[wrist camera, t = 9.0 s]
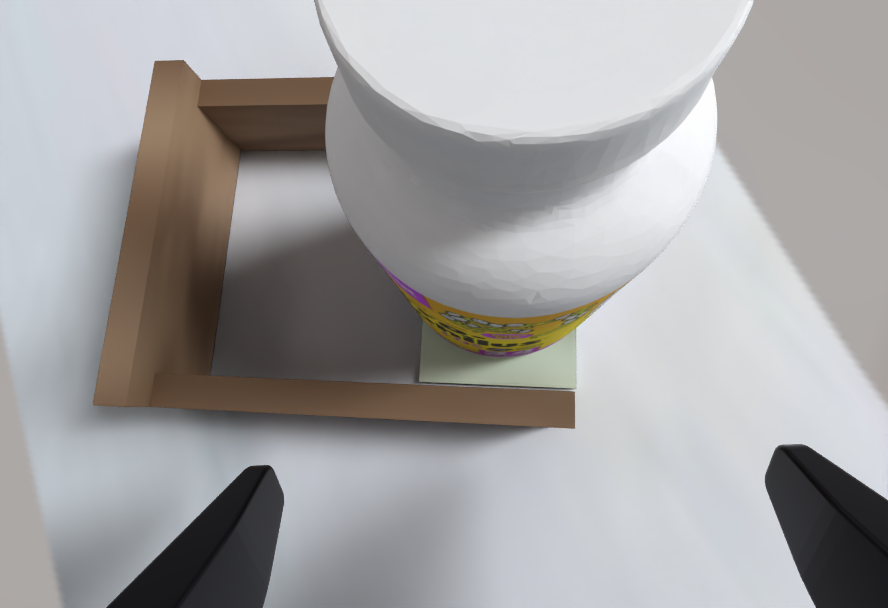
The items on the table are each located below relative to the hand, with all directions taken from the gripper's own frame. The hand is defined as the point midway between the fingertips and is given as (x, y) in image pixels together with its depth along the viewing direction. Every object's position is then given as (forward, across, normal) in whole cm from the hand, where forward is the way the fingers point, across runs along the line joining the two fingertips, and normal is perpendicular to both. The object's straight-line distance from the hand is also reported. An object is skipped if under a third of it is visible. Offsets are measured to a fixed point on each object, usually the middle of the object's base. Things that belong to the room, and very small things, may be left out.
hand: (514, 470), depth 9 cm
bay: (+10, +4, +1) cm, 11 cm away
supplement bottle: (+10, 0, +1) cm, 10 cm away
